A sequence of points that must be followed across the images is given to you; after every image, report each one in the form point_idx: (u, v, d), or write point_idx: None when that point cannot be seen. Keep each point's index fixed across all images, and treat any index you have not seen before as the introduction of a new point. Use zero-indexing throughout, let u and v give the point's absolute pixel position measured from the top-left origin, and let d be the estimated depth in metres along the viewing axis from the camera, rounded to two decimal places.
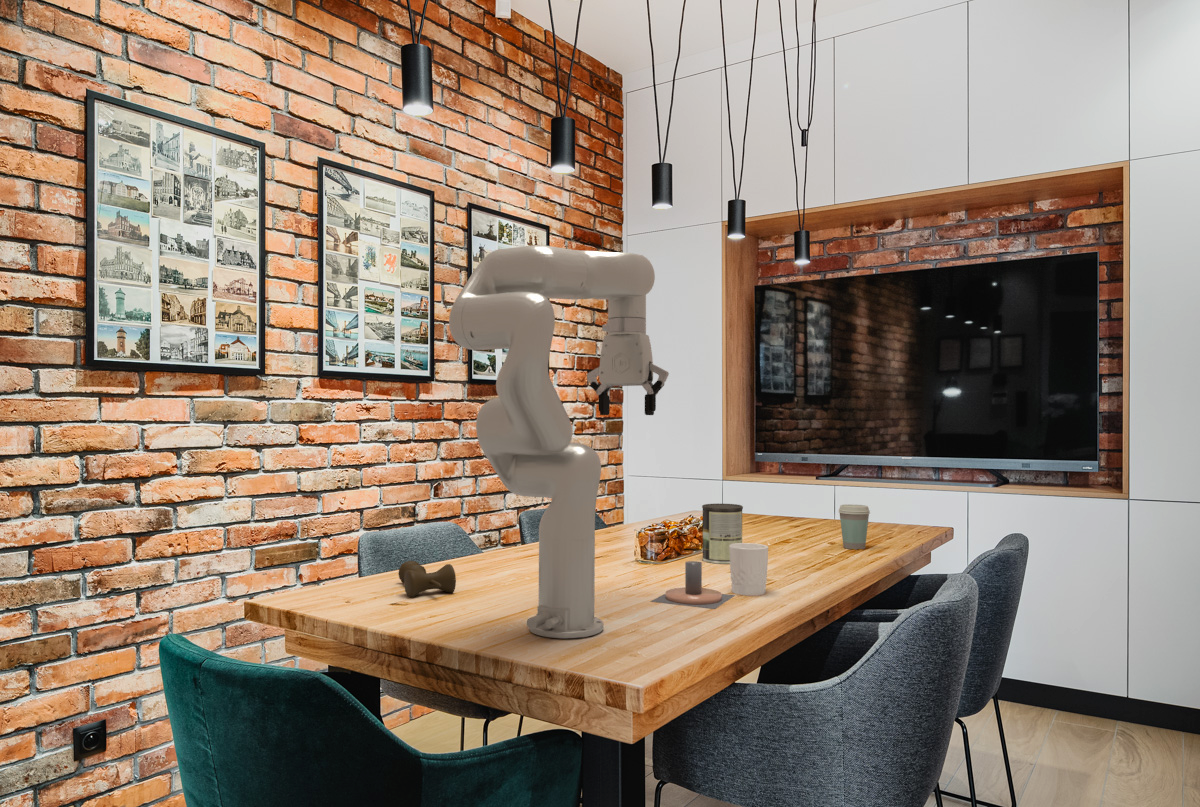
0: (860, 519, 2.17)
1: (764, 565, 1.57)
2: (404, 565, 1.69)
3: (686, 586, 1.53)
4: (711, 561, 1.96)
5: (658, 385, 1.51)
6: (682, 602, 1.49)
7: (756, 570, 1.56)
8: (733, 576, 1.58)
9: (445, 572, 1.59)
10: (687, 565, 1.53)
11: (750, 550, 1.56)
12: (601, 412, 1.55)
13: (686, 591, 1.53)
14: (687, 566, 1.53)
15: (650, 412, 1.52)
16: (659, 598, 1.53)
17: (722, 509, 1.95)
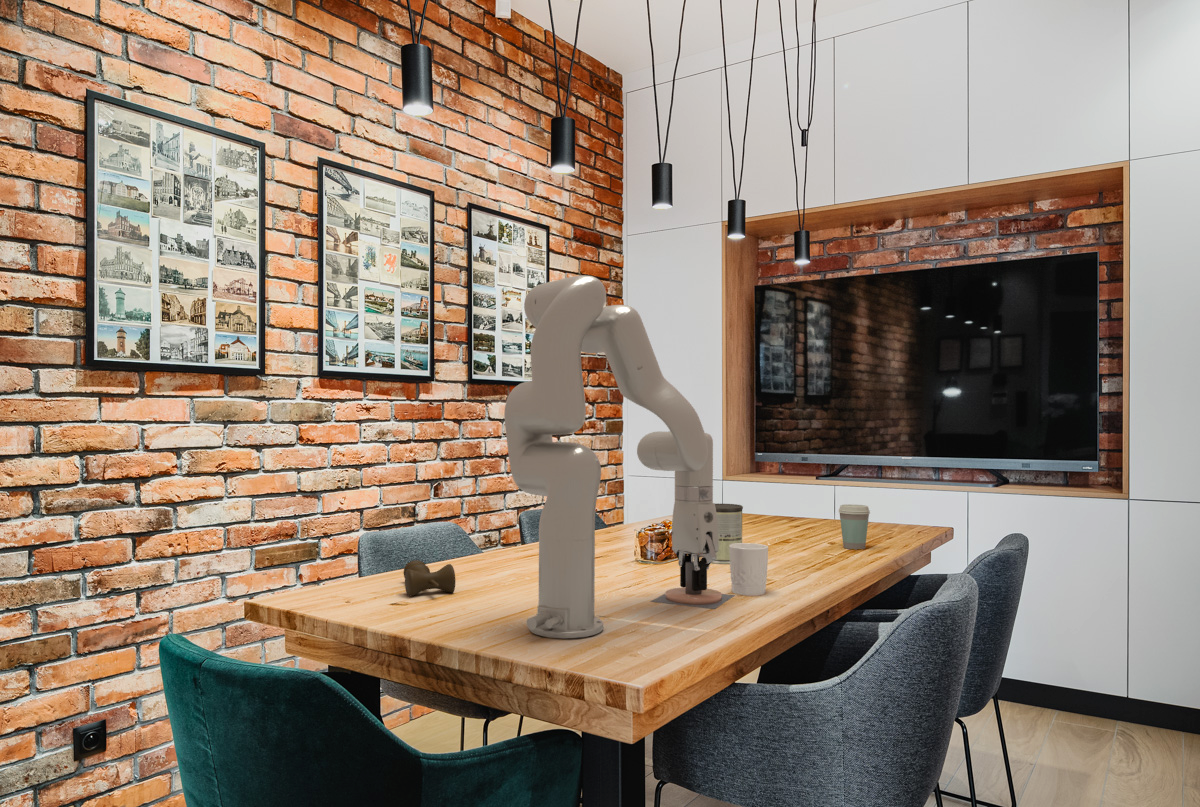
0: (860, 519, 2.17)
1: (764, 565, 1.57)
2: (409, 564, 1.70)
3: (686, 586, 1.53)
4: None
5: None
6: (682, 602, 1.49)
7: (756, 570, 1.56)
8: (733, 576, 1.58)
9: (445, 572, 1.59)
10: (687, 565, 1.53)
11: (750, 550, 1.56)
12: None
13: (686, 591, 1.53)
14: (687, 566, 1.53)
15: None
16: (659, 598, 1.53)
17: (722, 509, 1.95)
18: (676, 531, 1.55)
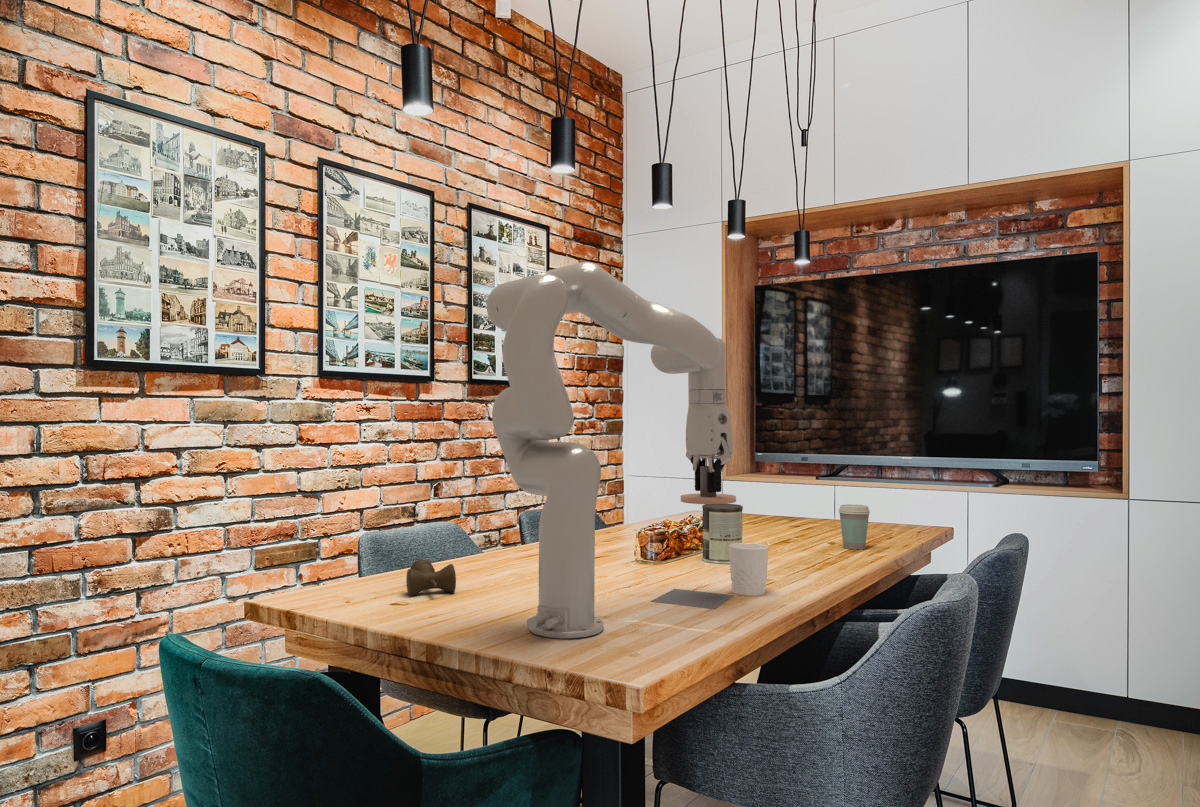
0: (860, 519, 2.17)
1: (764, 565, 1.57)
2: (415, 564, 1.70)
3: (701, 489, 1.55)
4: (711, 561, 1.96)
5: None
6: (698, 502, 1.51)
7: (756, 570, 1.56)
8: (733, 576, 1.58)
9: (446, 572, 1.59)
10: (702, 468, 1.55)
11: (750, 550, 1.56)
12: None
13: (701, 494, 1.55)
14: (702, 469, 1.55)
15: None
16: (659, 598, 1.53)
17: (722, 509, 1.95)
18: (690, 436, 1.57)
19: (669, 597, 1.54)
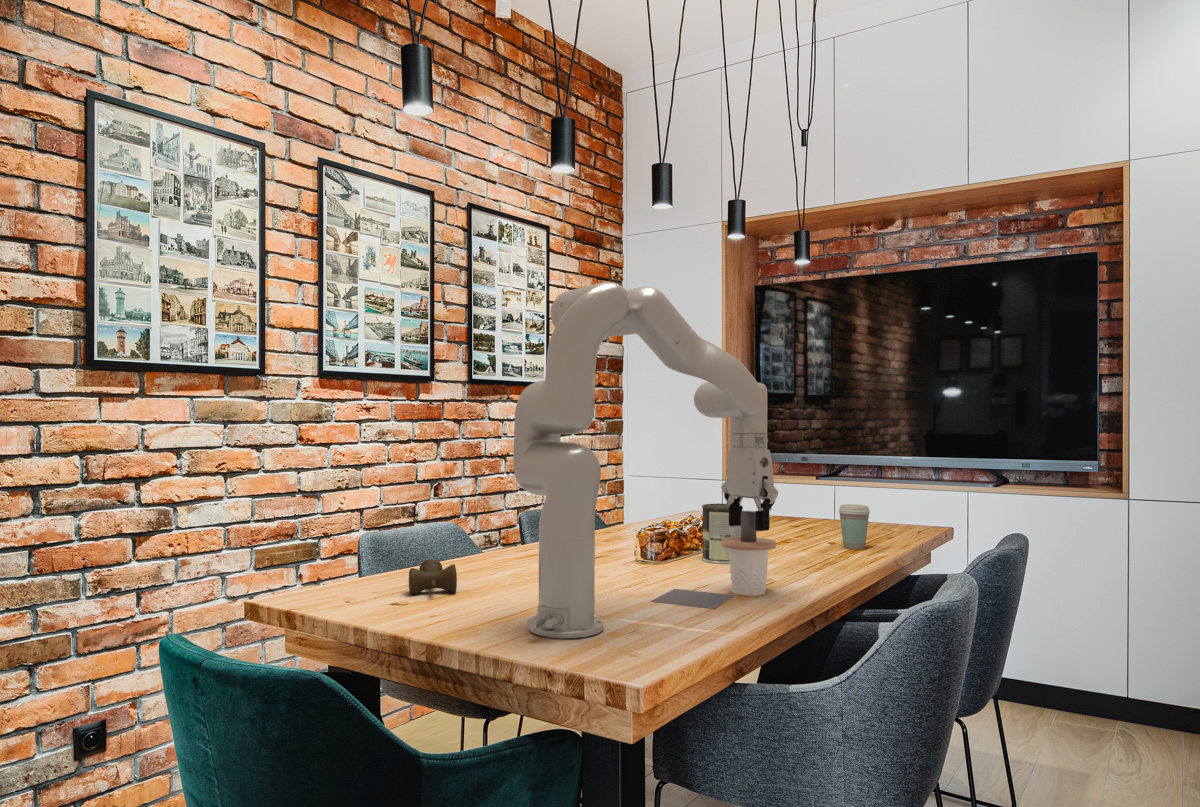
0: (860, 519, 2.17)
1: (764, 565, 1.57)
2: (424, 563, 1.71)
3: (741, 534, 1.59)
4: (711, 561, 1.96)
5: None
6: (739, 548, 1.55)
7: (756, 570, 1.56)
8: (733, 576, 1.58)
9: (447, 572, 1.59)
10: (742, 514, 1.59)
11: (750, 550, 1.56)
12: None
13: (741, 539, 1.59)
14: (742, 515, 1.59)
15: None
16: (659, 598, 1.53)
17: (722, 509, 1.95)
18: (732, 477, 1.61)
19: (669, 597, 1.54)
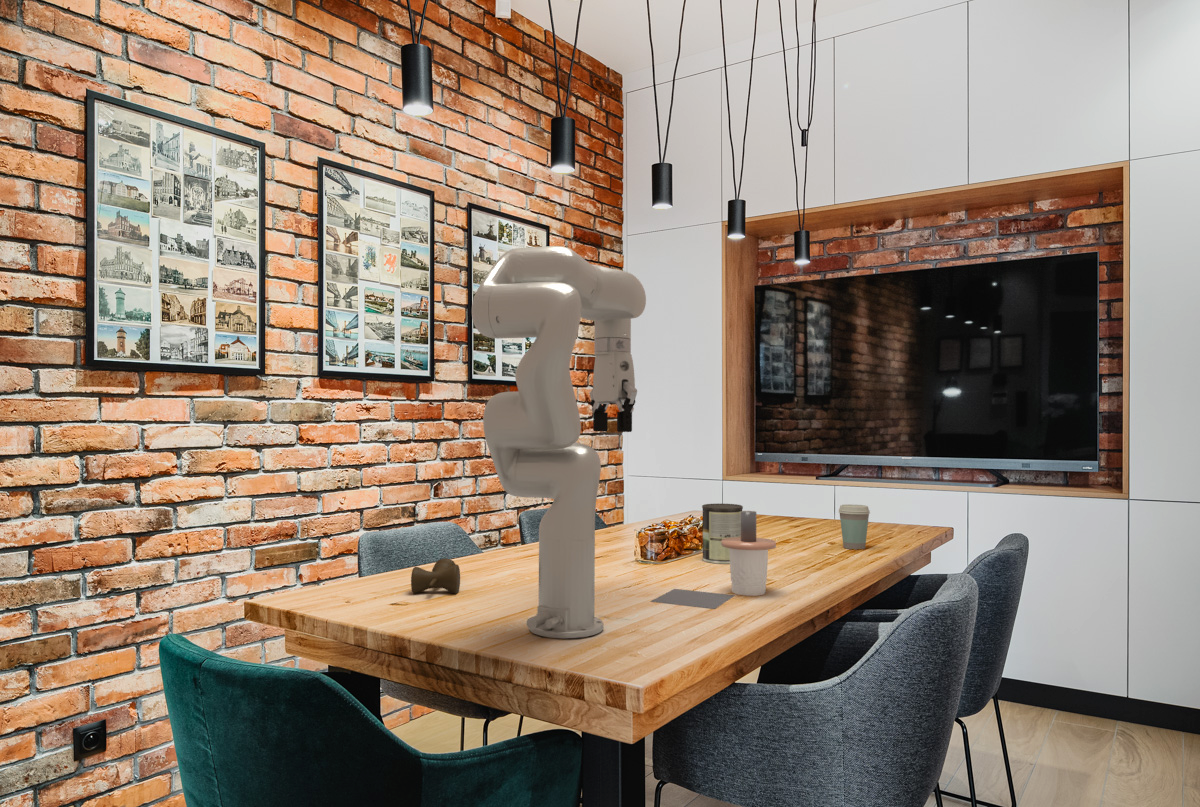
0: (860, 519, 2.17)
1: (764, 565, 1.57)
2: (438, 562, 1.73)
3: (741, 534, 1.59)
4: (711, 561, 1.96)
5: None
6: (739, 548, 1.55)
7: (756, 570, 1.56)
8: (733, 576, 1.58)
9: (448, 572, 1.59)
10: (742, 514, 1.59)
11: (750, 550, 1.56)
12: None
13: (741, 539, 1.59)
14: (742, 515, 1.59)
15: None
16: (659, 598, 1.53)
17: (722, 509, 1.95)
18: (596, 384, 1.61)
19: (669, 597, 1.54)
